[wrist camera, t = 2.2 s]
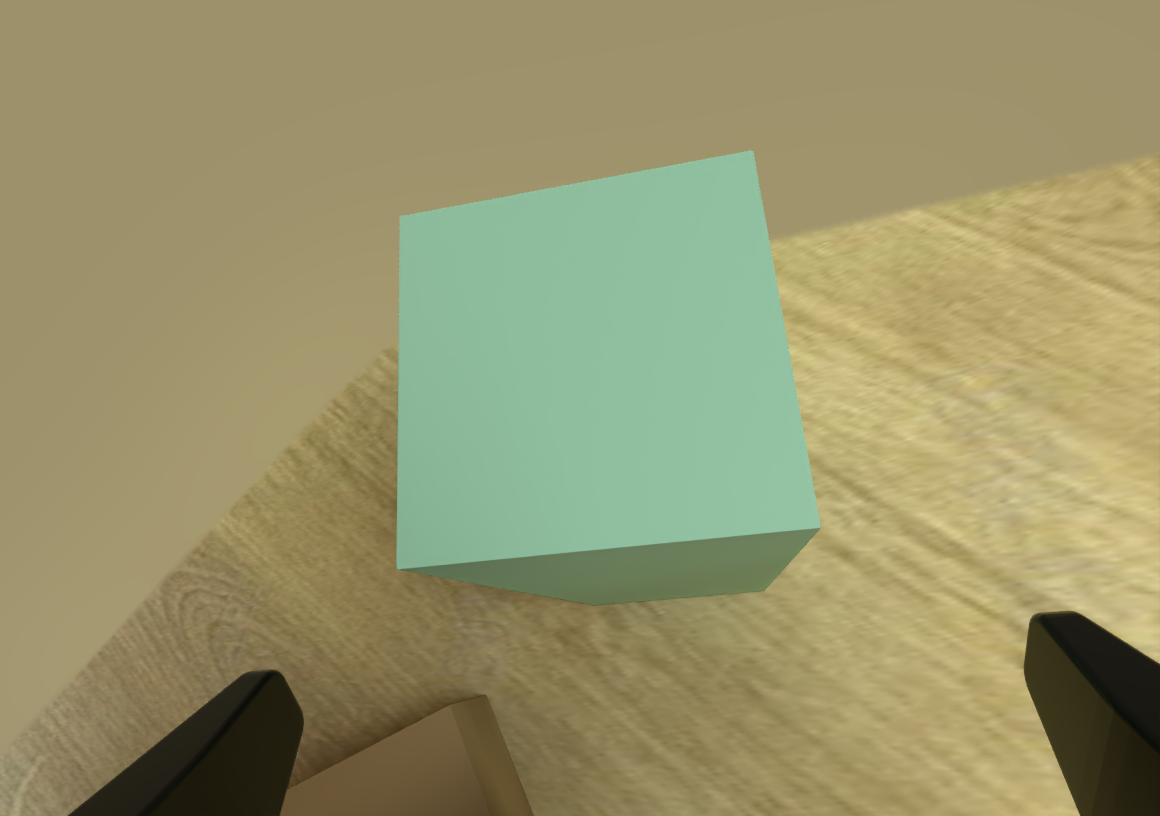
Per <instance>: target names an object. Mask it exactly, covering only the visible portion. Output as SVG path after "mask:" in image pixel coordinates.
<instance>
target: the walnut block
mask: <svg viewBox="0 0 1160 816" xmlns="http://www.w3.org/2000/svg"><path fill="white" fill-rule="evenodd" d="M280 816H533V813H532V810H531V808H530V805H529V803H528V800H527V798H526V795H525V793H524V790H523V788H522V785H521V782H520V780H519V777H518V775H517V772H516V770H515V767H514V765H513V762H512V759H511V757H510V754H509V752H508V749H507V747H506V744H505V742H504V739H503V736H502V734H501V731H500V729H499V726H498V724H497V721H496V719H495V716H494V714H493V711H492V708H491V706H490V703H489V701H488V698H487V696H486V695H484V696H480V697H477V698H473V699H469V700H466V701H462V702H458V703H455V704H451V705H448V706H446V707H445V708H443V709H441V710H439V711H437V712H435V713H433V714H431V715H429V716H427V717H425V718H423V719H422V720H420V721H418V722H416V723H414V724H412V725H410V726H408V727H406V728H404V729H402V730H400V731H399V732H397V733H395V734H393V735H391V736H389V737H387V738H385V739H383V740H381V741H379V742H377V743H376V744H374V745H372V746H370V747H368V748H366V749H364V750H362V751H360V752H358V753H356V754H354V755H353V756H351V757H349V758H347V759H345V760H343V761H341V762H339V763H337V764H335V765H333V766H331V767H330V768H328V769H326V770H324V771H322V772H320V773H318V774H316V775H314V776H312V777H310V778H308V779H307V780H305V781H303V782H301V783H299V784H297V785H295V786H293V787H291V788H289V789H287V791H286V795H285V799H284V803H283V806H282V810H281V814H280Z"/></svg>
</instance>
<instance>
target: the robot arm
mask: <svg viewBox="0 0 1160 816" xmlns="http://www.w3.org/2000/svg"><path fill="white" fill-rule="evenodd" d="M1024 675H1025V681H1026V684H1027V687H1028V690H1029V693H1030V695H1031V697H1032V700H1033V702H1034V705H1035V707H1036V710H1037V712H1038V715H1039V717H1040V719H1041V722H1042V724H1043V727H1044V729H1045V732H1046V734H1047V736H1048V739H1049V741H1050V744H1051V746H1052V749H1053V751H1054V753H1055V756H1056V758H1057V761H1058V763H1059V766H1060V768H1061V770H1062V773H1063V775H1064V778H1065V780H1066V783H1067V785H1068V787H1069V790H1070V792H1071V795H1072V797H1073V800H1074V802H1075V804H1076V807H1077V809H1078V812H1079V814H1080V816H1160V664H1159V663H1158V662H1156V661H1154V660H1153V659H1151V658H1150V657H1148V656H1147V655H1145V654H1143V653H1142V652H1140V651H1139V650H1137V649H1135V648H1134V647H1132V646H1131V645H1129V644H1128V643H1126V642H1124V641H1123V640H1121V639H1120V638H1118V637H1117V636H1115V635H1113V634H1112V633H1110V632H1109V631H1107V630H1106V629H1104V628H1102V627H1101V626H1099V625H1098V624H1096V623H1094V622H1093V621H1091V620H1090V619H1088V618H1087V617H1085V616H1083V615H1081V614H1079V613H1077V612H1074V611H1058V612H1044V613H1037V614H1035V615H1033V616H1032V618H1031V619H1030V623H1029V628H1028V636H1027V644H1026V652H1025V660H1024ZM303 725H304V719H303V713H302V710H301V708H300V706H299V704H298V702H297V700H296V698H295V697H294V695H293V693H292V691H291V689H290V687H289V685H288V683H287V682H286V680H285V678H284V676H283V675H282V674H281V673H280V672H279V671H277V670H260V671H250V672H247V673H245V674H243V675H241V676H240V677H239V678H238V679H236V680H235V681H234V682H233V683H231V684H230V685H229V686H228V687H226V688H225V689H224V690H223V691H221V692H220V693H219V694H218V695H217V696H215V697H214V698H213V699H212V700H210V701H209V702H208V703H207V704H205V705H204V706H203V707H202V708H200V709H199V710H198V711H197V712H195V713H194V714H193V715H192V716H191V717H189V718H188V719H187V720H186V721H184V722H183V723H182V724H181V725H179V726H178V727H177V728H176V729H174V730H173V731H172V732H171V733H170V734H168V735H167V736H166V737H165V738H163V739H162V740H161V741H160V742H158V743H157V744H156V745H155V746H153V747H152V748H151V749H150V750H148V751H147V752H146V753H145V754H144V755H142V756H141V757H140V758H139V759H137V760H136V761H135V762H134V763H132V764H131V765H130V766H129V767H127V768H126V769H125V770H124V771H122V772H121V773H120V774H119V775H118V776H116V777H115V778H114V779H113V780H111V781H110V782H109V783H108V784H106V785H105V786H104V787H103V788H101V789H100V790H99V791H98V792H96V793H95V794H94V795H93V796H92V797H90V798H89V799H88V800H87V801H85V802H84V803H83V804H82V805H80V806H79V807H78V808H77V809H75V810H74V811H73V812H72V813H70V814H69V815H68V816H280V814H281V810H282V806H283V803H284V799H285V795H286V791H287V788H288V784H289V780H290V777H291V773H292V769H293V766H294V762H295V758H296V755H297V751H298V747H299V744H300V740H301V736H302V732H303Z"/></svg>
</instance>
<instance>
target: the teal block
mask: <svg viewBox="0 0 1160 816" xmlns="http://www.w3.org/2000/svg"><path fill="white" fill-rule="evenodd" d="M399 257H400V259H399V359H398V463H397V566H396V569H397V570H402V571H408V572H413V573H419V574H424V575H430V576H435V577H441V578H446V579H452V580H457V581H463V582H468V583H474V584H479V585H485V586H490V587H496V588H501V589H507V590H512V591H518V592H523V593H528V594H534V595H539V596H545V597H550V598H556V599H561V600H567V601H572V602H578V603H583V604H589V605H604V604H616V603H627V602H639V601H651V600H663V599H675V598H686V597H698V596H710V595H722V594H734V593H745V592H757V591H765V589H766V588H767V587H768V586H769V585H770V584H771V583H772V582H773V581H774V579H775V578H776V577H777V576H778V575H779V574H780V573H781V572H782V570H783V569H784V568H785V567H786V566H787V565H788V564H789V563H790V562H791V560H792V559H793V558H794V557H795V556H796V555H797V554H798V553H799V552H800V550H801V549H802V548H803V547H804V546H805V545H806V544H807V543H808V542H809V540H810V539H811V538H812V537H813V536H814V535H815V534H816V533H817V532H818V530H819V529H820V528H821V526H820V520H819V514H818V509H817V503H816V498H815V492H814V487H813V481H812V476H811V470H810V464H809V459H808V453H807V448H806V442H805V437H804V431H803V426H802V420H801V415H800V409H799V403H798V398H797V392H796V387H795V381H794V376H793V370H792V365H791V359H790V353H789V348H788V342H787V337H786V331H785V326H784V320H783V315H782V309H781V304H780V298H779V292H778V287H777V281H776V276H775V270H774V265H773V259H772V254H771V248H770V243H769V237H768V231H767V226H766V220H765V216H764V209H763V204H762V198H761V193H760V188H759V182H758V177H757V170H756V165H755V159H754V154H753V150H751V151H745V152H740V153H735V154H730V155H724V156H719V157H713V158H708V159H703V160H698V161H692V162H687V163H681V164H676V165H671V166H665V167H660V168H655V169H649V170H644V171H639V172H634V173H629V174H623V175H618V176H612V177H607V178H602V179H596V180H591V181H586V182H580V183H575V184H570V185H565V186H559V187H554V188H548V189H543V190H538V191H533V192H527V193H522V194H516V195H511V196H506V197H501V198H495V199H490V200H484V201H479V202H474V203H468V204H463V205H458V206H452V207H447V208H442V209H436V210H431V211H426V212H420V213H415V214H410V215H405V216H400V255H399Z"/></svg>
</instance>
